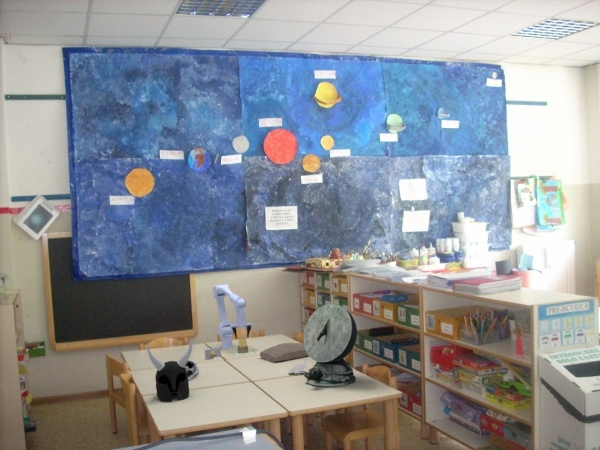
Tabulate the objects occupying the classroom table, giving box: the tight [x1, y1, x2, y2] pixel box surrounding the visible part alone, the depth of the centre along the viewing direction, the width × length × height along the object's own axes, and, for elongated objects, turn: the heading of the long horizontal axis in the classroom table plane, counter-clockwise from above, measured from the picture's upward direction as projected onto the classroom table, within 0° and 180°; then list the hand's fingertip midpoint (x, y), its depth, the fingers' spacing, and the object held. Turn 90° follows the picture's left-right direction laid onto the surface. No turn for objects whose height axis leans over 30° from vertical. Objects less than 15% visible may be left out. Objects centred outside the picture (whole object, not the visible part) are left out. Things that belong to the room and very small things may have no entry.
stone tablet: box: [259, 342, 310, 363], centre depth 388 cm, size 20×8×30 cm
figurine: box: [288, 357, 314, 377], centre depth 344 cm, size 14×4×9 cm, turn 102°
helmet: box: [146, 338, 193, 403], centre depth 317 cm, size 22×19×30 cm
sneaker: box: [185, 360, 200, 381], centre depth 354 cm, size 10×20×10 cm, turn 175°
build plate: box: [232, 348, 254, 356], centre depth 406 cm, size 12×12×1 cm
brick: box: [237, 337, 248, 347], centre depth 405 cm, size 4×4×5 cm
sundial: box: [303, 303, 358, 387], centre depth 323 cm, size 31×32×40 cm
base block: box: [237, 345, 249, 354], centre depth 406 cm, size 6×6×4 cm
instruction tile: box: [204, 347, 222, 360], centre depth 397 cm, size 2×10×6 cm, turn 104°
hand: (242, 338), depth 406 cm, fingers open, 7 cm apart
